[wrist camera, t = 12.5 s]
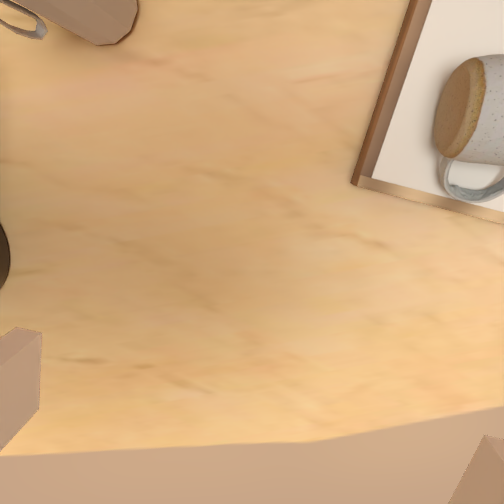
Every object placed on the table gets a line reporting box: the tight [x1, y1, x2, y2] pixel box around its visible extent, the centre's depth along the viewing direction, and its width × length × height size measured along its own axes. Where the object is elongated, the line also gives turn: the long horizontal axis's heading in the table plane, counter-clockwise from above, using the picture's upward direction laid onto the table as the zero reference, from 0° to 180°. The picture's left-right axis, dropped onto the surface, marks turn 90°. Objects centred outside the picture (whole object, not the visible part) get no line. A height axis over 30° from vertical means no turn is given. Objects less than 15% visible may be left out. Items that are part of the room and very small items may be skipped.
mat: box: [371, 0, 504, 212], centre depth 29 cm, size 14×15×1 cm
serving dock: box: [351, 0, 504, 224], centre depth 29 cm, size 16×19×5 cm
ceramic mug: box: [434, 54, 504, 203], centre depth 26 cm, size 11×8×8 cm
